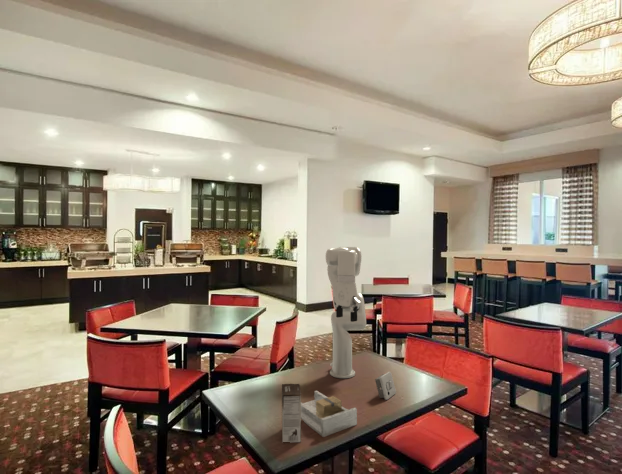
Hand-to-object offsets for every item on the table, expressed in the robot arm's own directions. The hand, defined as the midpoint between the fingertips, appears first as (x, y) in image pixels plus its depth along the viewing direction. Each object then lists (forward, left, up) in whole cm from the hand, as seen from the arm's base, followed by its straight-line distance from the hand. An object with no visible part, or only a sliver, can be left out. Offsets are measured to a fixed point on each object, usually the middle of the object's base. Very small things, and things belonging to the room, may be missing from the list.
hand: (346, 319), depth 155 cm
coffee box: (+13, -35, -34) cm, 50 cm away
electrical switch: (+8, +15, -34) cm, 38 cm away
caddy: (+8, -19, -33) cm, 39 cm away
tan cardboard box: (+13, -19, -32) cm, 40 cm away
